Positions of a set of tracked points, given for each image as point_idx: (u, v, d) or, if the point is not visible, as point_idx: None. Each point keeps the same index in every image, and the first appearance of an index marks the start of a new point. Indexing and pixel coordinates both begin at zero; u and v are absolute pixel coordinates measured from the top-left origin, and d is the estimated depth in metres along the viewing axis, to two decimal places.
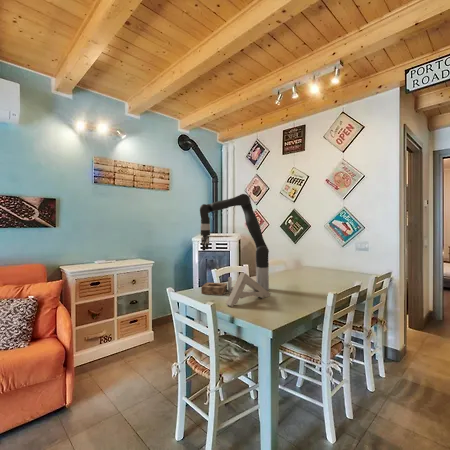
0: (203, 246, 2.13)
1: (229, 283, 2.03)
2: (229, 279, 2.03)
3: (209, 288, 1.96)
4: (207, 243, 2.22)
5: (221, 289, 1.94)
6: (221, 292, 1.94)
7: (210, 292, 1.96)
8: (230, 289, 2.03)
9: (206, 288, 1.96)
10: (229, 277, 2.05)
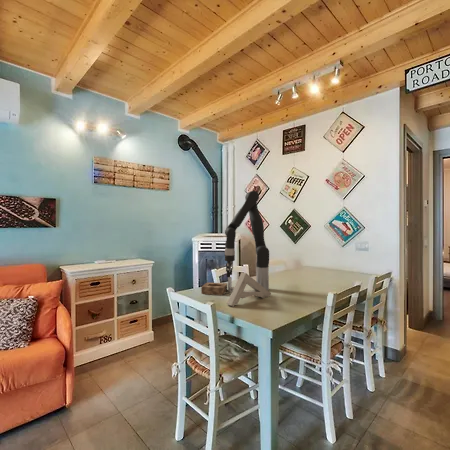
0: None
1: (229, 283, 2.03)
2: (229, 279, 2.03)
3: (209, 288, 1.96)
4: (231, 268, 2.09)
5: (221, 289, 1.94)
6: (221, 292, 1.94)
7: (210, 292, 1.96)
8: (230, 289, 2.03)
9: (206, 288, 1.96)
10: (229, 277, 2.05)
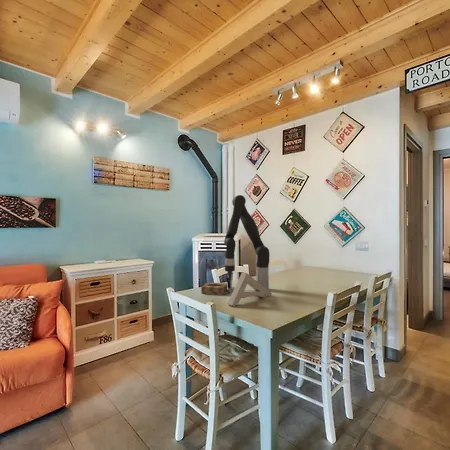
0: None
1: None
2: None
3: (209, 288, 1.96)
4: None
5: (221, 289, 1.94)
6: (221, 292, 1.94)
7: (210, 292, 1.96)
8: (230, 289, 2.03)
9: (206, 288, 1.96)
10: None
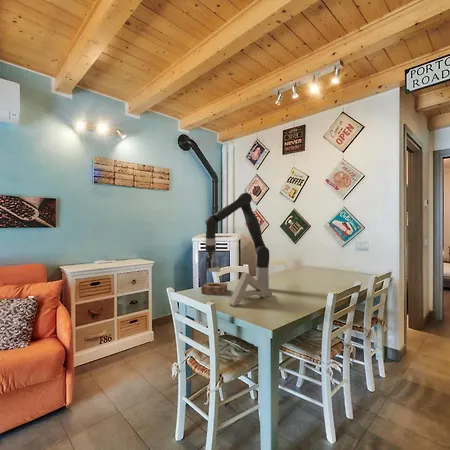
0: (209, 263, 2.00)
1: None
2: None
3: (209, 288, 1.96)
4: None
5: (221, 289, 1.94)
6: (221, 292, 1.94)
7: (210, 292, 1.96)
8: (210, 269, 2.01)
9: (206, 288, 1.96)
10: None
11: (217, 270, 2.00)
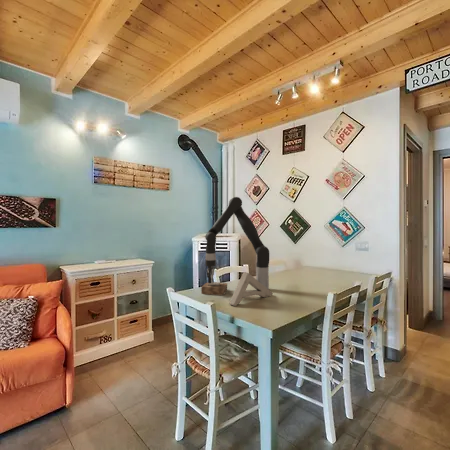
0: (209, 278, 2.00)
1: None
2: None
3: (209, 288, 1.96)
4: None
5: (221, 289, 1.94)
6: (221, 292, 1.94)
7: (210, 292, 1.96)
8: (210, 284, 2.01)
9: (206, 288, 1.96)
10: None
11: (217, 285, 2.00)
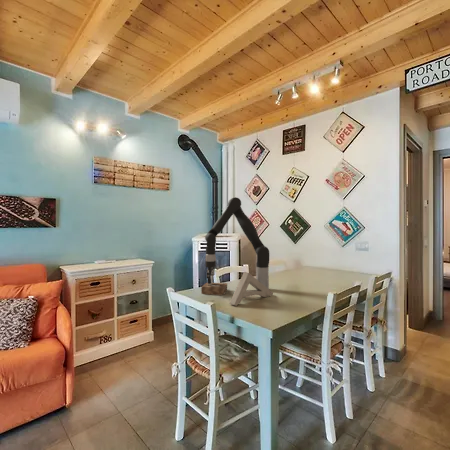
0: None
1: None
2: None
3: (209, 288, 1.96)
4: (212, 275, 2.06)
5: (221, 289, 1.94)
6: (221, 292, 1.94)
7: (210, 292, 1.96)
8: None
9: (206, 288, 1.96)
10: None
11: None
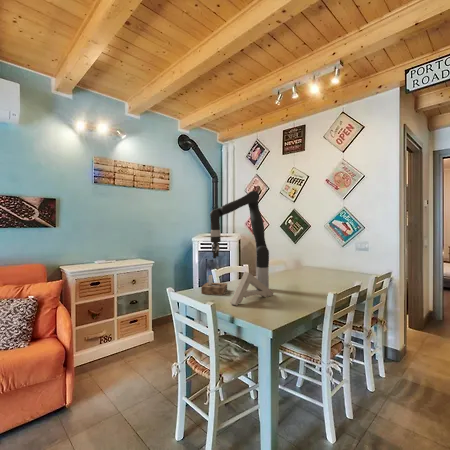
0: (214, 253, 2.03)
1: (209, 281, 2.01)
2: (209, 277, 2.01)
3: (209, 288, 1.96)
4: (217, 250, 2.12)
5: (221, 289, 1.94)
6: (221, 292, 1.94)
7: (210, 292, 1.96)
8: None
9: (206, 288, 1.96)
10: (210, 275, 2.03)
11: None
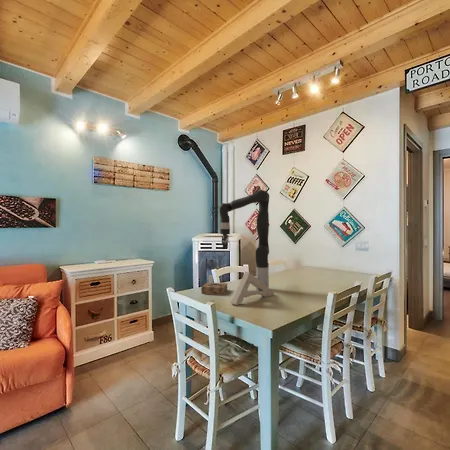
0: (223, 245, 2.14)
1: (209, 281, 2.01)
2: (209, 277, 2.01)
3: (209, 288, 1.96)
4: (226, 242, 2.23)
5: (221, 289, 1.94)
6: (221, 292, 1.94)
7: (210, 292, 1.96)
8: None
9: (206, 288, 1.96)
10: (210, 275, 2.03)
11: None
